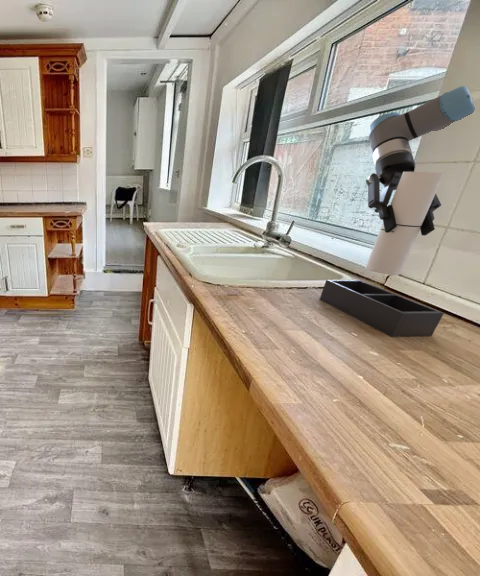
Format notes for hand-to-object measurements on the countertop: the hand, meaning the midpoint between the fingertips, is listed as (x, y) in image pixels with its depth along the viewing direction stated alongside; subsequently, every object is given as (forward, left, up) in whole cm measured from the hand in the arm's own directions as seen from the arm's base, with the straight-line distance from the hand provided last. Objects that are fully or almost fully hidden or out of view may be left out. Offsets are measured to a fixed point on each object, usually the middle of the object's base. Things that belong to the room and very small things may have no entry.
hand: (409, 230), depth 75 cm
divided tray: (+11, +8, -19) cm, 24 cm away
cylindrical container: (-1, -3, -12) cm, 12 cm away
